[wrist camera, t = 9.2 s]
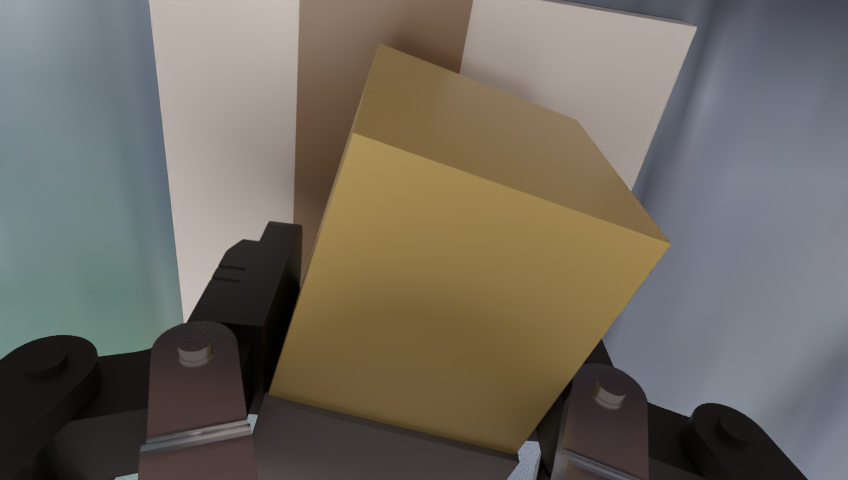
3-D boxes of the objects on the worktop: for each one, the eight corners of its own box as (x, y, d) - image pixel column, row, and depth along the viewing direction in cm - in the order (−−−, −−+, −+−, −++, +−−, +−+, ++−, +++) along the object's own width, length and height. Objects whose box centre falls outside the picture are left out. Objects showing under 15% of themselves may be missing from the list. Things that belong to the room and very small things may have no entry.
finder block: (578, 121, 11) (679, 251, 7) (429, 392, 16) (433, 576, 12) (376, 41, 11) (347, 136, 6) (277, 353, 15) (218, 537, 11)
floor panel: (683, 21, 14) (699, 27, 13) (551, 360, 20) (557, 378, 19) (157, -69, 12) (139, -68, 12) (194, 321, 19) (184, 339, 18)
